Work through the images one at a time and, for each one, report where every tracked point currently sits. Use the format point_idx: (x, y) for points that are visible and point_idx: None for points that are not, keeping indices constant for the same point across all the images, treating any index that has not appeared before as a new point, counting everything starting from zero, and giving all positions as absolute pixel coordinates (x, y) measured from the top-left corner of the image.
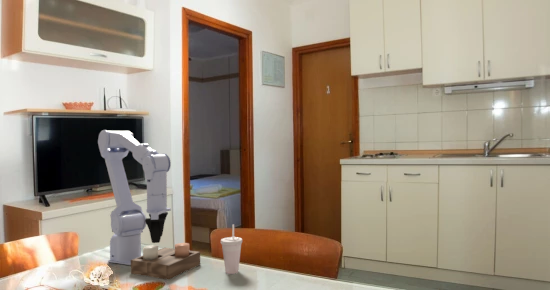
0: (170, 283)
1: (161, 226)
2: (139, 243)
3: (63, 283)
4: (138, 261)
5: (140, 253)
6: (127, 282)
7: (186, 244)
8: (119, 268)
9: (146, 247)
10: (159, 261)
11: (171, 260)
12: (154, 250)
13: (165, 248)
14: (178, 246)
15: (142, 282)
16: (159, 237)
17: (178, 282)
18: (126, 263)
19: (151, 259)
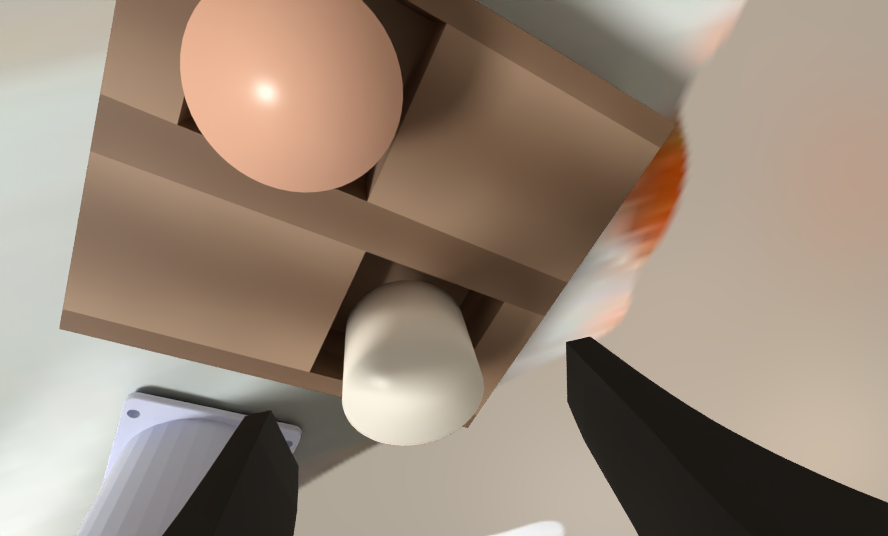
0: (689, 71)
1: (829, 488)
2: (150, 527)
3: (546, 531)
4: (501, 375)
5: (164, 451)
6: (595, 327)
7: (282, 16)
8: (354, 447)
9: (420, 422)
10: (539, 235)
11: (530, 138)
12: (461, 339)
13: (95, 312)
14: (397, 120)
15: (617, 255)
16: (631, 375)
17: (688, 10)
18: (294, 449)
19: (460, 313)
